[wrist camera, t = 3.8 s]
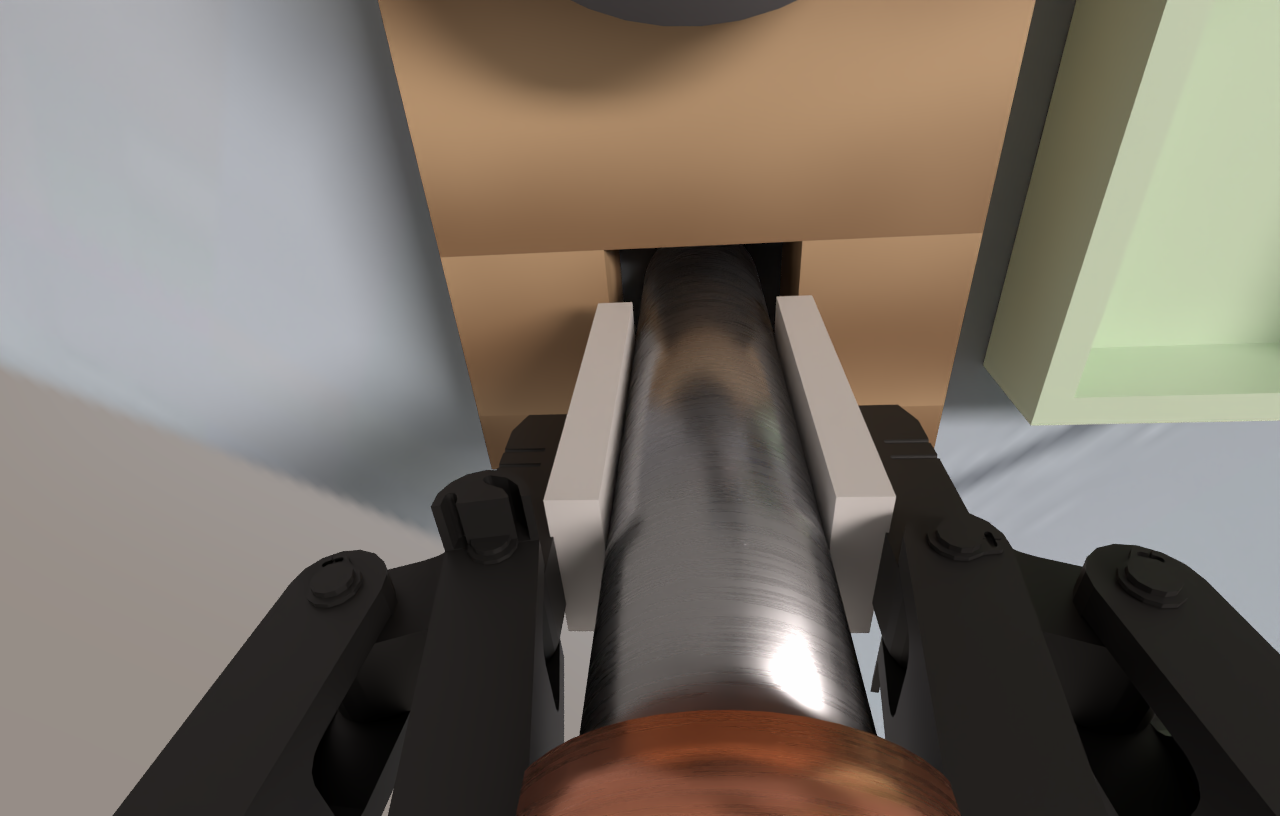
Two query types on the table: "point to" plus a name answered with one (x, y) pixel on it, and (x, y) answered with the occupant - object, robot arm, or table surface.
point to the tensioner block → (706, 168)
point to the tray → (1151, 223)
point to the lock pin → (720, 592)
